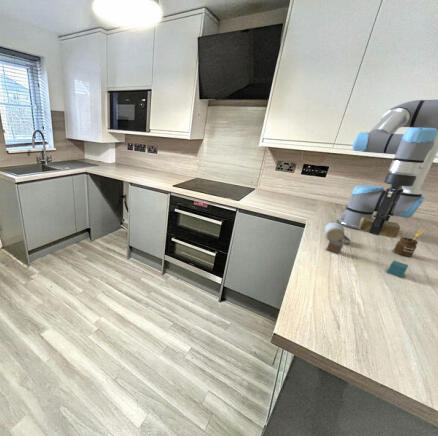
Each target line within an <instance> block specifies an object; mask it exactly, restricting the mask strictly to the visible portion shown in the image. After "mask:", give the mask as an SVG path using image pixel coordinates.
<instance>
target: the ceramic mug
mask: <svg viewBox="0 0 438 436" xmlns="http://www.w3.org/2000/svg"><path fill="white" fill-rule="evenodd" d="M324 235H325V237H326V239H327V240H329V242H330V241H332V240H334V241H337V242H340V241H341V242H342V243H343V244H350V243H351V242H352V240H351V239H350V237H348V236H347V235H346V234H345V226H344V225H341V224H340V223H338V222H336V221H335V222H330V223H329V222H328V224H326V225H325V226H324Z"/></svg>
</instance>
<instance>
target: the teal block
mask: <svg viewBox="0 0 438 436" xmlns="http://www.w3.org/2000/svg"><path fill="white" fill-rule="evenodd" d="M409 266H410V265H409V264H406V263H403V262H399V261H397V260H393V261H392V262H391V263H390V265H389V267H388V269H387V271H386V272H387V274H390V275H393V276H396V277H399V278H403V276H404V275H405V273H406V271H407V270H408V268H409Z"/></svg>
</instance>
